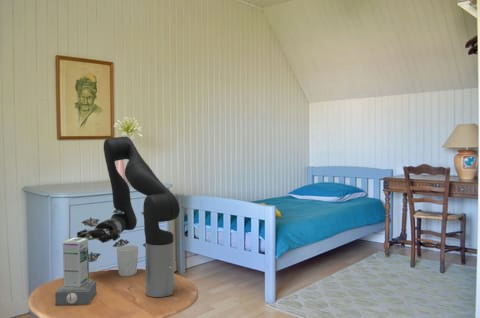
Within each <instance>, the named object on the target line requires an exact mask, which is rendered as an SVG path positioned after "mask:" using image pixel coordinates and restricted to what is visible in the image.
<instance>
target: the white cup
mask: <svg viewBox="0 0 480 318" xmlns="http://www.w3.org/2000/svg"><path fill="white" fill-rule="evenodd" d="M138 257H139V246H137V245H133V244H127V245H119V246H118V247H116V260H117V270H118V275H119V276H121V277H132V276H135V275H137V272H138V271H137V269H138V263H139V261H138V260H139V258H138Z"/></svg>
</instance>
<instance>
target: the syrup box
mask: <svg viewBox="0 0 480 318" xmlns="http://www.w3.org/2000/svg"><path fill="white" fill-rule="evenodd" d="M62 259H63V260H62V261H63V262H62V265H63V266H62V267H63V284H64V286H70V287H81V286H82V285H83V284H85V283H87V282H88V281H89V280H90V274H89V273H90V270H89V267H90V265H89V263H90V262H89V240H88V238H86V237H85V238H79V237H77V236H76V237H71V238H70V239H67V240H64V241H63V242H62Z"/></svg>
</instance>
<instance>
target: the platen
mask: <svg viewBox="0 0 480 318" xmlns="http://www.w3.org/2000/svg"><path fill="white" fill-rule="evenodd" d="M92 281H93V279H89V281H88V282H87V283H85V284H83V285H82V286H81V287H70V286H64V283H63V284H62V285H63V286H62V285H61V286H62V287H61V286H60V287H61V288H60V287H59V288H60V291H86V290H87V289H88V287H89V286H90V285H91V283H92Z"/></svg>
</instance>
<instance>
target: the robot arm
mask: <svg viewBox="0 0 480 318" xmlns="http://www.w3.org/2000/svg"><path fill="white" fill-rule="evenodd" d="M103 154H104V159H105V164H106V168H107V172H108V178H109V181H110V185H111V186H110V187H111V193H112V203H113V208H114V209H115V210H117V211H121V212H116V213H113V214H112V215H111V218H109V219H105V220H104V221H101V222H99V223H98V224H97V225H96V226H95V228H94V229H86V228H85V229H83V230H80V231H78V232H76V235H77V236H76V238H77V237H79V238H88V241H94V240H96V241H97V240H98V241H99V242H101V243H103V244H105V243H108V242H110V241H117V240H118V239H119V238H121V233H123V232H124V231H133V230H134V229H135V228H136V227H137V224H138V223H137V222H138V221H137V220H138V219H137V216H136V213H135V211H134V208H133V206H132V202H131V201H132V200H131V191H130V190H131V189H130V187H132V188H133V190H135V191H137V192H139V193H140V194H142V195H144V196H146V197H145V198H144V201H143V221H144V222H143V226H144V236H145V237H144V238H145V252H144V253H145V256H144V257H145V286H144V287H145V289H144V290H145V295H146V296H148V297H152V298H162V297H168V296H174V290H175V262H174V233H172V232H171V231H168V230H164V229H162V228H160V224H159V223H164V222H165V223H166V222H171V221H174V220H176V219H177V218H178V217H179V215H180V212H181V211H180V210H181V209H180V204H179V202H178V199H177V197H176V195H174V194H173V192H171V191H170V189H169V188H167V186H165V185H164V184H163V183H162V182H161V180H160V179H159V178H158V177H157V176H156V174H155V173H154V171H153V170H152V169H151V167H150V166H149V164H147V162H145V160H144V158H143V157H142V155H141V154H140V153H139V151H138V150H137V147H136V146H135V144H134V142H133V141H132V140H131V138H130V137H128V136H117V137H111V138H106V139H105V140H104V142H103ZM123 160H128V161H127V163H126V166H125V169H124V176H125V179H124V177H123V176H122V175H121V174H120V172H119V170H118V169H117V166H116V162H117V161H123ZM126 180H127V181H126ZM127 182H128V183H129V184H130V186H129V184H128V183H127Z"/></svg>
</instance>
